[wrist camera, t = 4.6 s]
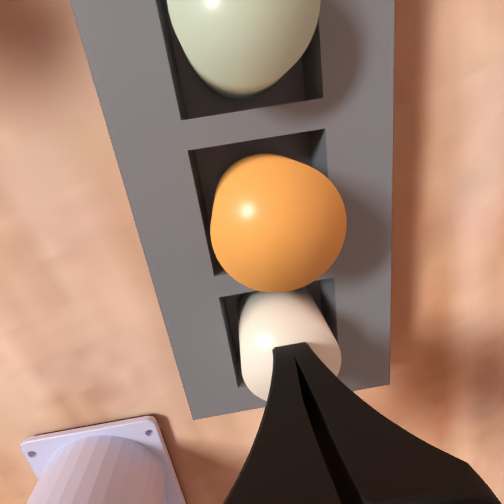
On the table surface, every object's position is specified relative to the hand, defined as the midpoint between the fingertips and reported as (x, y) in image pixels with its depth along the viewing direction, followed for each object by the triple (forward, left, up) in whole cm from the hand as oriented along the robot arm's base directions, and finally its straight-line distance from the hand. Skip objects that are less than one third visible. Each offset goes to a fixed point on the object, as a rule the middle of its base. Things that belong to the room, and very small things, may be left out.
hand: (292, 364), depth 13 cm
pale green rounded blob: (+12, 0, -4) cm, 13 cm away
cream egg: (0, 0, -4) cm, 4 cm away
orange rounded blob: (+6, 0, -3) cm, 7 cm away
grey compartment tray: (+6, 0, -5) cm, 8 cm away
